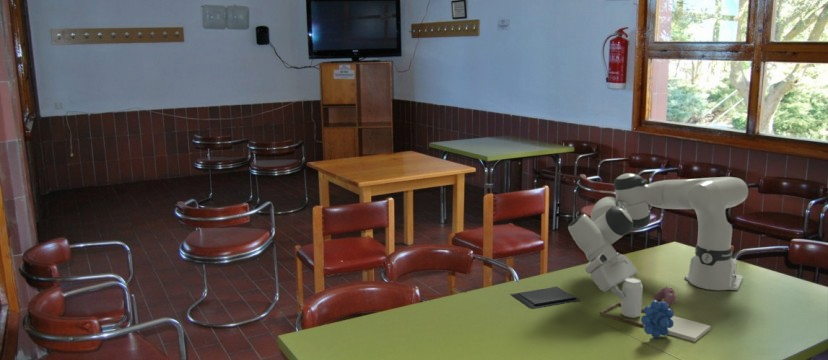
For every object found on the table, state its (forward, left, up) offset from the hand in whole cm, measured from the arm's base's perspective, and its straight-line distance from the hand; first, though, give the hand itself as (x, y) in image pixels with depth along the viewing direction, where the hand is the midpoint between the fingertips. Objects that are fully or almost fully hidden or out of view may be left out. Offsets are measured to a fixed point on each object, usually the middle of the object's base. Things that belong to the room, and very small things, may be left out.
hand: (630, 294), depth 222 cm
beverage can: (0, 0, -7) cm, 7 cm away
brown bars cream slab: (0, +8, -7) cm, 11 cm away
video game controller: (-16, +4, -7) cm, 19 cm away
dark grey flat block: (+5, -29, -8) cm, 30 cm away
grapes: (+11, +15, -7) cm, 20 cm away
